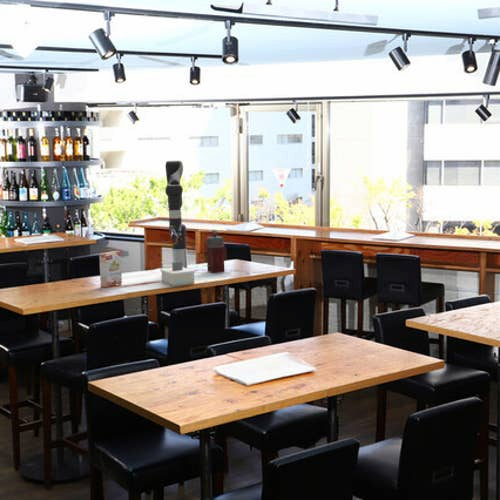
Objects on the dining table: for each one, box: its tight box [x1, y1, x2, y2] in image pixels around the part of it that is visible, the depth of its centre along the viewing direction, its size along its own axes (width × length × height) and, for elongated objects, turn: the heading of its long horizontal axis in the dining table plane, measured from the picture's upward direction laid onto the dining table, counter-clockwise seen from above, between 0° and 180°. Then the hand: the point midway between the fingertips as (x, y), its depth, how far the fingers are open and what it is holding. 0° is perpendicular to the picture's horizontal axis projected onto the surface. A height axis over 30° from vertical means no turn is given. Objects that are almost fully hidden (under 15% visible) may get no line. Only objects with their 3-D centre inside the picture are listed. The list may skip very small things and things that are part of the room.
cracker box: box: [98, 250, 123, 288], centre depth 527 cm, size 14×6×21 cm, turn 148°
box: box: [161, 272, 195, 287], centre depth 529 cm, size 18×14×7 cm
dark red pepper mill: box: [206, 229, 228, 274], centre depth 568 cm, size 9×11×28 cm
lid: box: [160, 261, 196, 275], centre depth 528 cm, size 19×15×6 cm
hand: (176, 243), depth 526 cm, fingers open, 8 cm apart
